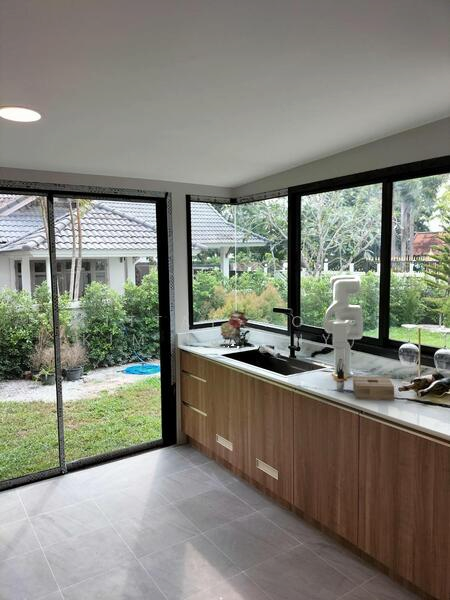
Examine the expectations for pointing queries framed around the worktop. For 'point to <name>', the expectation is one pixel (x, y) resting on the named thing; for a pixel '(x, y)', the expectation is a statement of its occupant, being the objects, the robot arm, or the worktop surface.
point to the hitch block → (373, 388)
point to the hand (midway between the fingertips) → (340, 376)
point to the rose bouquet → (235, 329)
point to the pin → (339, 382)
